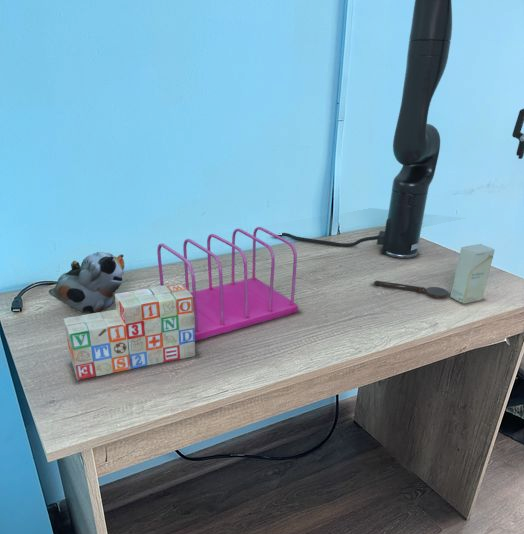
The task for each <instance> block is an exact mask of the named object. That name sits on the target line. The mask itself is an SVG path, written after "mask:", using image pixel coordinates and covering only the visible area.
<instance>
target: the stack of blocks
mask: <svg viewBox="0 0 524 534" xmlns="http://www.w3.org/2000/svg"><path fill="white" fill-rule="evenodd" d="M190 293H191V292H190V290H189V291H188V290H187V289H186V286H185V285H184V284H183V283H176V284H170V285H165V284H164V286H161V285H158V286H152V287H149V288H142V289H136V290H130V291H125V292H117V293H114V298H115V299H114V301H115V309H112V310H111V309H110V310H106V311H99V312H97V313H86V314H82V315H77V316H69V317H65V318H63V323H64V328H65V334H66V340H67V345H68V350H69V354H70V355H69V356H70V359H71V365H72V368H73V370H74V374H75V378H76V379H77V380H78V381H80V380H84V379H89V378H93V377H100V376H105V375H109V374H113V373H119V372H124V371H129V370H132V369H137V368H141V367H147V366H151V365H156V364H161V363H167V362H172V361H176V360H178V361H179V360H180V359H182V360H183V359H187V358H192V357H196V355H197V354H196V341H195V328H194V327H195V318H194V311H193V296H192V295H191V294H190Z"/></svg>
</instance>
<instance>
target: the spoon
mask: <svg viewBox="0 0 524 534" xmlns="http://www.w3.org/2000/svg"><path fill="white" fill-rule="evenodd" d="M373 285H374V286H377V287H383V288H390V289H396V290H403V291H410V292H416V293H418V294H424V295H426V296H428V297H430V298H432V299H437V300H438V299H439V300H442V299H446V298H447V297H448V295H449V292H448V290H447V289H445V288H443V287H440V286H429V287H427V288H426V287H424V286H417V285H411V284H403V283H397V282H396V283H395V282H389V281H383V280H374V281H373Z"/></svg>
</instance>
